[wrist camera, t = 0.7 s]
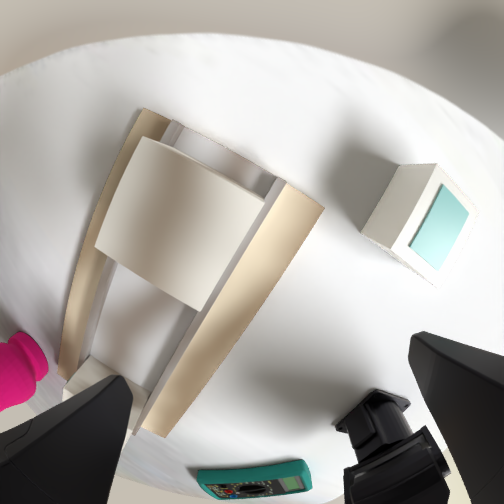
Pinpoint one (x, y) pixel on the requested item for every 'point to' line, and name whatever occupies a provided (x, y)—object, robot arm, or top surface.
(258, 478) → the digital multimeter
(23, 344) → the pepper mill
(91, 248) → the rail panel
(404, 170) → the block
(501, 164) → the top surface
